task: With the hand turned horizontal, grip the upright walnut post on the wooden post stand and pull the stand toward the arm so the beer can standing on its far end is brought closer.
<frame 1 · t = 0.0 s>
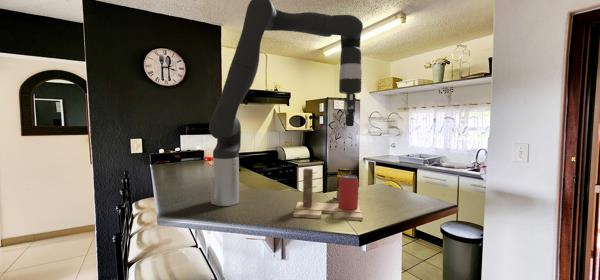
hand: (349, 126, 91), 29 cm above the countertop, tool pointing down, fingers open, 8 cm apart
broken strip: (327, 216, 85), on the countertop
beer can: (347, 210, 91), resting on wooden post stand
condiment: (345, 198, 107), on the countertop
wooden post stand: (327, 189, 92), point 7 cm above the countertop, slide at 0.0 cm, touching beer can
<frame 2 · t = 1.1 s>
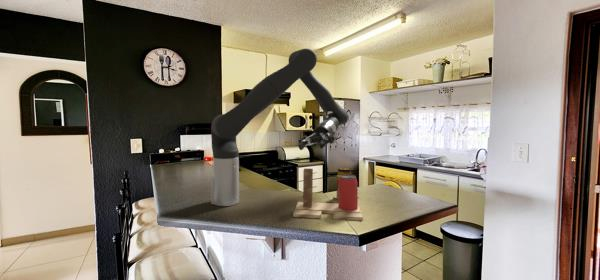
hand: (310, 147, 97), 21 cm above the countertop, tool tilted 70°, fingers open, 8 cm apart
nothing on the countertop moved.
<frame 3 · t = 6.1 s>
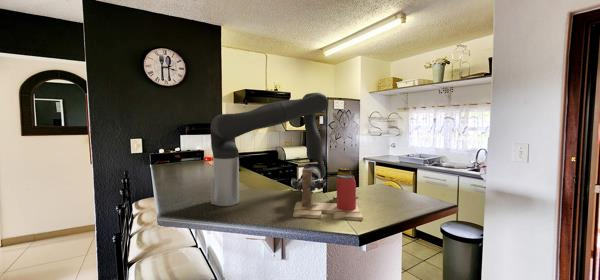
hand: (305, 188, 89), 8 cm above the countertop, tool horizontal, fingers open, 3 cm apart
wooden post stand: (326, 189, 92), point 7 cm above the countertop, slide at 0.5 cm, touching beer can, gripper
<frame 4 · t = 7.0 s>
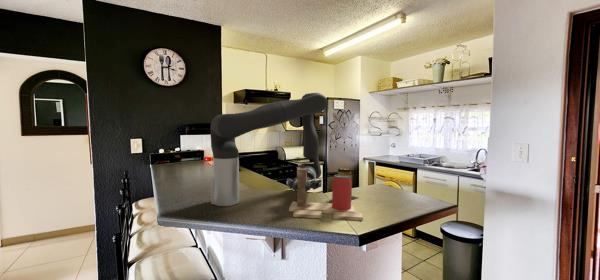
hand: (300, 188, 89), 8 cm above the countertop, tool horizontal, fingers open, 3 cm apart
beer can: (341, 210, 91), resting on wooden post stand
wooden post stand: (322, 189, 92), point 7 cm above the countertop, slide at 2.1 cm, touching beer can, gripper
everything else where it was.
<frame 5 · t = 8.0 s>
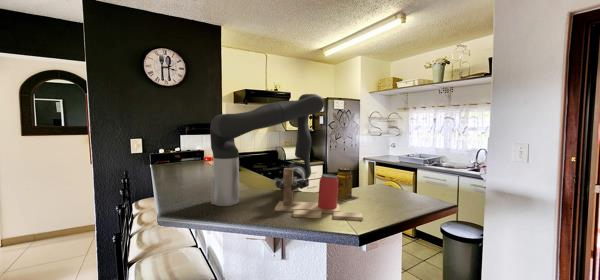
hand: (287, 187, 90), 8 cm above the countertop, tool horizontal, fingers open, 3 cm apart
beer can: (327, 209, 92), resting on wooden post stand
wooden post stand: (307, 188, 92), point 7 cm above the countertop, slide at 6.9 cm, touching beer can, gripper
everything else where it was.
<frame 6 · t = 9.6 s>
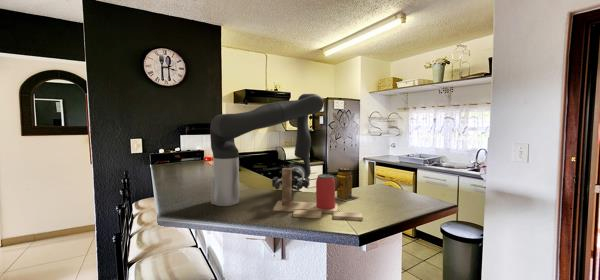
hand: (287, 186, 91), 8 cm above the countertop, tool horizontal, fingers open, 7 cm apart
wooden post stand: (306, 188, 92), point 7 cm above the countertop, slide at 7.7 cm, touching beer can
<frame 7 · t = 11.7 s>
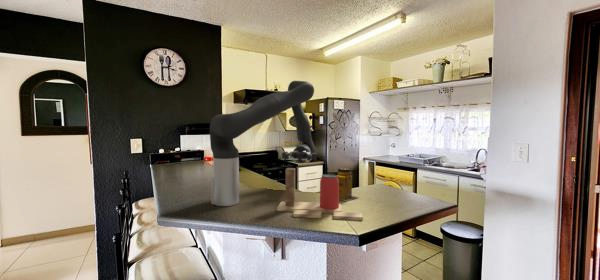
hand: (297, 157, 103), 17 cm above the countertop, tool horizontal, fingers open, 8 cm apart
beer can: (329, 209, 92), resting on wooden post stand
wooden post stand: (310, 189, 92), point 7 cm above the countertop, slide at 6.4 cm, touching beer can
everything else where it was.
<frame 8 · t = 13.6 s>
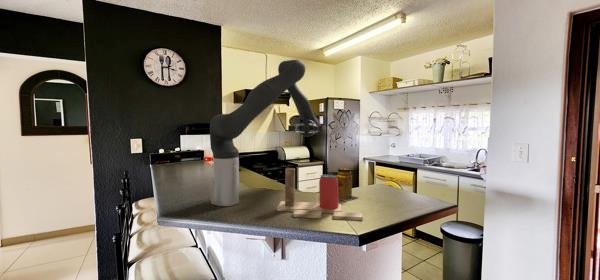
hand: (304, 128, 103), 28 cm above the countertop, tool horizontal, fingers open, 8 cm apart
nothing on the countertop moved.
at the end: wooden post stand slide at 6.5 cm; beer can moved 6.6 cm from its start; beer can tilted 1° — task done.
